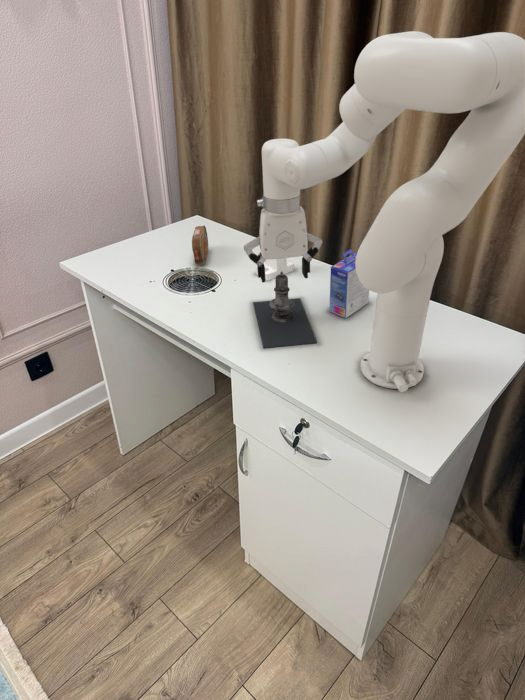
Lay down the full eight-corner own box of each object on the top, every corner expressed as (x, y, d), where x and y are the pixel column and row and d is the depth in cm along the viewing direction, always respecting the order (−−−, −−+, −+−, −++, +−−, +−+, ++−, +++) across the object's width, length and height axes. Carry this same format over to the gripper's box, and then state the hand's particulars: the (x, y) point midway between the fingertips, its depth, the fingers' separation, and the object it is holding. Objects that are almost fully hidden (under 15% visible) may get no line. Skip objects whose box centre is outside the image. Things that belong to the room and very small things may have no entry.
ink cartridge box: (350, 296, 130) (355, 243, 122) (369, 303, 127) (375, 249, 119) (327, 311, 124) (330, 256, 116) (345, 319, 121) (350, 263, 113)
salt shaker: (292, 324, 119) (292, 278, 112) (267, 322, 120) (266, 276, 114) (295, 311, 124) (296, 266, 117) (272, 309, 125) (271, 264, 118)
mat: (316, 343, 113) (317, 342, 113) (263, 348, 112) (263, 347, 112) (300, 299, 130) (300, 298, 129) (253, 303, 128) (253, 302, 128)
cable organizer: (294, 270, 143) (295, 236, 137) (267, 281, 138) (266, 246, 132) (282, 263, 146) (282, 230, 140) (255, 274, 141) (254, 240, 136)
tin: (204, 269, 145) (201, 241, 140) (193, 269, 145) (190, 241, 140) (209, 247, 157) (207, 221, 152) (199, 247, 157) (196, 221, 152)
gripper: (242, 212, 102) (247, 289, 112) (326, 205, 104) (325, 281, 113) (239, 201, 109) (244, 274, 118) (318, 194, 110) (317, 267, 120)
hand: (283, 277), depth 116 cm, fingers open, 9 cm apart
